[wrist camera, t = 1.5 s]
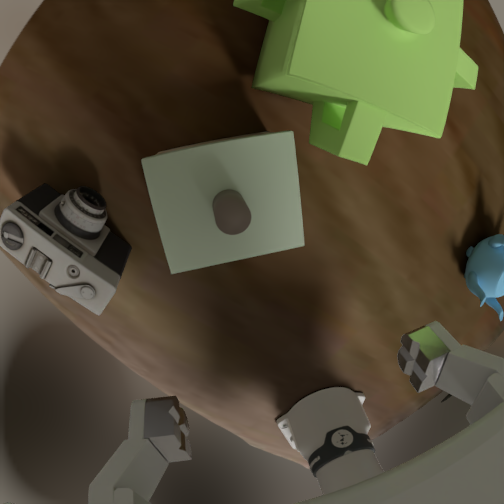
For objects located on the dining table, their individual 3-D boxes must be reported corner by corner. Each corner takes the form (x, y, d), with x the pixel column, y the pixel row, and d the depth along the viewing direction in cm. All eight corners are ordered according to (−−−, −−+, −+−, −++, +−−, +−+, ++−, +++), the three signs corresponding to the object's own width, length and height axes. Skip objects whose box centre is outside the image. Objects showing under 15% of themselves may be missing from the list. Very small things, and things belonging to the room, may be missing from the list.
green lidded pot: (252, -64, 21) (294, -147, 6) (413, 3, 27) (508, -18, 12) (198, 119, 31) (202, 126, 16) (378, 165, 37) (476, 209, 21)
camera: (151, 223, 35) (139, 263, 26) (115, 273, 37) (97, 322, 28) (59, 154, 29) (17, 173, 20) (29, 210, 31) (-11, 243, 22)
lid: (301, 241, 31) (317, 262, 27) (171, 269, 30) (169, 294, 26) (289, 130, 26) (307, 134, 22) (142, 158, 25) (133, 167, 21)
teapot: (470, 295, 52) (501, 323, 43) (442, 274, 47) (479, 305, 38) (502, 243, 48) (536, 266, 39) (479, 213, 43) (520, 237, 34)
